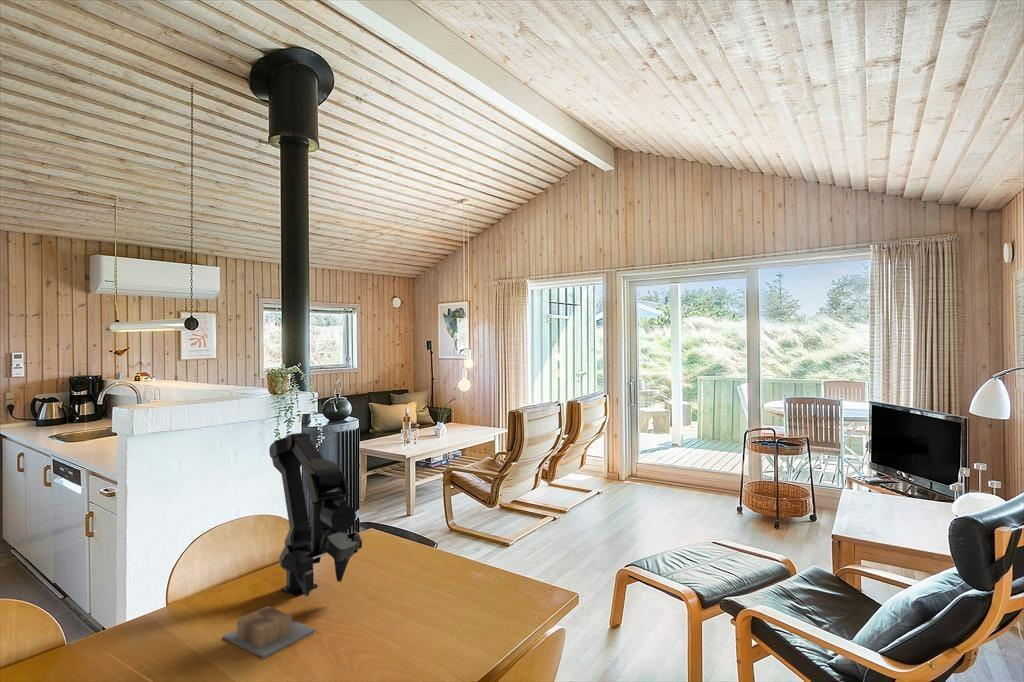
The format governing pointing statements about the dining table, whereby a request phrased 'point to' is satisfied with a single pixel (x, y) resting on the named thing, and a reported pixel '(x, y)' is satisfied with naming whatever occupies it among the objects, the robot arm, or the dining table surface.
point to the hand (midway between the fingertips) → (323, 588)
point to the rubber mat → (296, 634)
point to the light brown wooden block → (264, 626)
